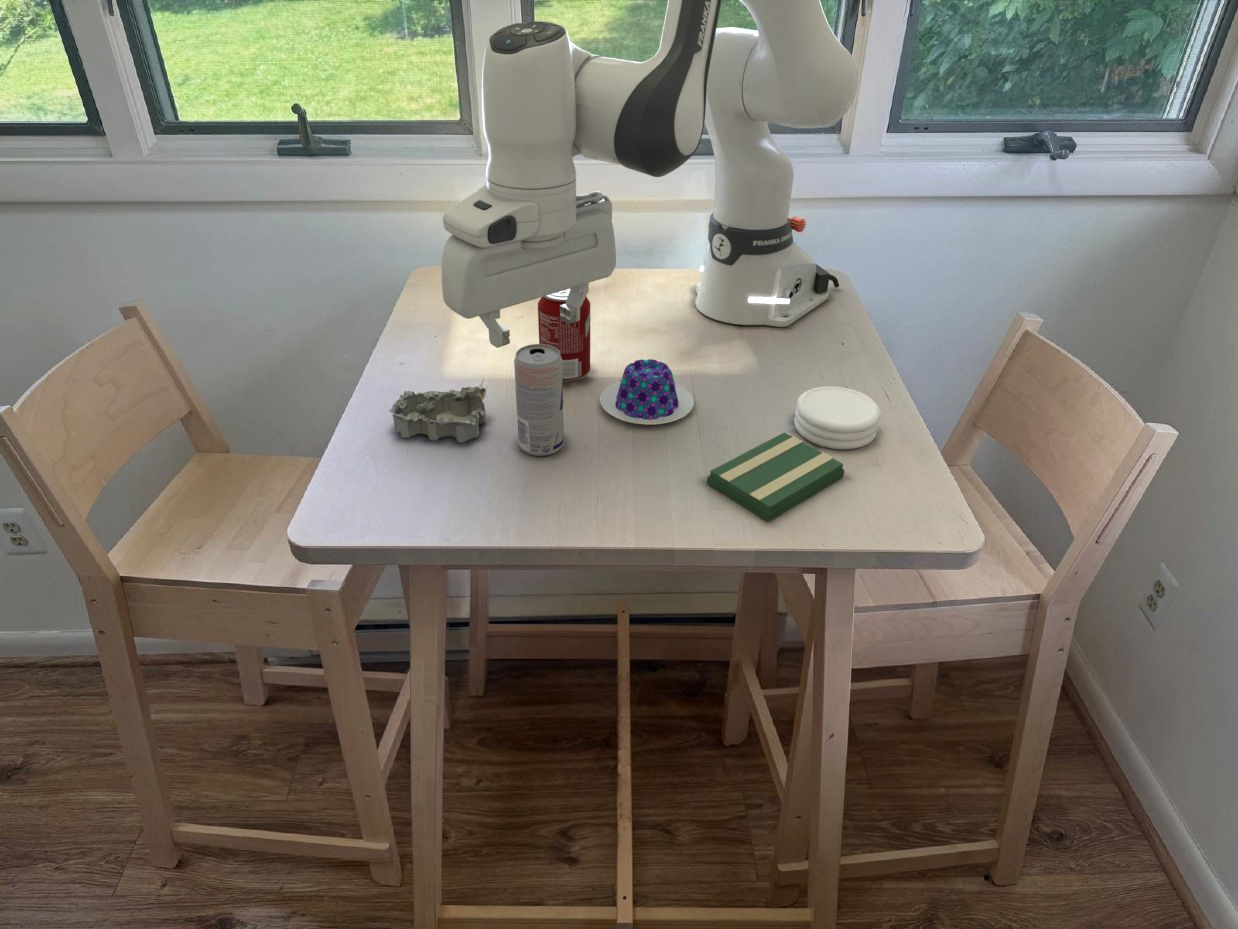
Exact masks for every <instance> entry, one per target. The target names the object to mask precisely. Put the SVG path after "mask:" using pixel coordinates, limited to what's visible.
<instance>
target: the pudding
mask: <svg viewBox="0 0 1238 929" xmlns="http://www.w3.org/2000/svg"><path fill="white" fill-rule="evenodd" d="M599 403H600V406H601V407H602V409H603V410H604V411H605V412H606V413H607V414H609V415H611V416H612V417H614V418H616V419H618V420H621V421H623V422H627V423H631V424H635V425H636V424H638V425H661V424H662V425H663V424H667V423H668V424H669V423H672V422H675V421H678V420H680V419H683V418H684V417H685V416H687V415H688V414H689V413H690V412H691V411H692V410H693V408H694V405H695V399H694V397H693V395H692V393H691V392H690V391H689V390H688V389H687V388H686V387H684V386H683V385H681V384H679V383H677V382H675V379H674V373H673V371H672V369H671V368H670V367H669V365H668V364H667V363H665V362H663V361H658V360H657V359H654V358H648V359H642V358H641V359H636V360H634V362H630V363H629V364H626V367H625V368H624V371H623V373H622V377H621V379H620V380H617V381H615V382H612V383H611V384H609V385H607V386H606V387H605V388H604V389H603V390H602V391H601V392H600V396H599Z"/></svg>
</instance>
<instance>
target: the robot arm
mask: <svg viewBox="0 0 1238 929" xmlns="http://www.w3.org/2000/svg"><path fill="white" fill-rule="evenodd" d="M739 1H740V3H742V4H743V5H744V6H745V7H746V9H747V10H748V12H749V13H750V15H751V17H752V19H753V21H754V23H755V26H756V30H755V29H748V28H741V27H733V26H730V27H719V28H718V23H719V18H720V17H719V16H720V11H721V6H722V2H723V1H722V0H667V4H666V10H665V16H664V20H663V21H664V22H663V27H662V33H661V37H660V42H659V48H658V50H657V52H656V53H655V54H654V55H653V56H652V57H650V58H649V59H647V60H645V61H634V60H629V59H628V60H626V59H622V58H621V59H620V58H614V57H607V56H605V55H598V54H593V53H592V52H590V51H587V50H586V49H585V50H584V49H582V48H581V47H579V46H578V45H577V44H575V43H573V42H572V41H571V40H570V36H569V32H568V30H567V29H566V28H565V27H563V26H562V25H560V24H558V23H554V22H551V21H543V20H532V21H530V20H529V21H526V22H517V23H516V22H515V23H512V24H509V25H506V26H503V27H502V28H500V29H499V28H498V30H496V31H495V32H494V33H493V34H491V35H490V36H489V38H488V40H487V42H486V46H485V50H484V55H483V61H482V71H481V72H482V73H481V115H482V129H483V135H484V137H485V140H486V143H487V148H488V159H487V164H486V168H485V184H484V185H482V186H480V187H479V188H477V190H475V191H474V192H473V193H471V194H470V195H468V196H467V197H465V198H464V199H462V200H460V201H459V202H456V203H455V204H454V205H452V206H450V207H448V208H447V209H445V211H444V213H443V214H442V224H443V228H444V230H445V231H446V232H448V233H449V234H450V236H448V238H447V239H446V241H445V243H444V244H443V248H442V252H441V286H442V287H441V289H442V297H443V302H444V304H445V305H446V306H447V307H448V308H449V309H450V310H451V311H452V312H454V313H455V314H456V315H459V316H460V317H462V318H464V319H467V320H469V319H474V318H477V317H478V318H479V319H480V320H481V322H482V323H483V324H484V325H485V327H486V328H487V330H488V340H489V343H490V344H491V345H492V346H493V347H495V348H497V349H498V348H502V347H504V346H508V345H509V344H511V338H510V337H511V333H510V332H511V331H510V329H509V328H508V327H504V326H503V325H502V324H499V323H498V321H497V320H498V319H501V310H503V309H504V310H505V309H507V308H509V307H513V306H517V305H520V304H524V303H526V302H529V301H533V300H536V299H540V298H541V297H543V296H546V295H550V294H553V293H556V292H560V291H563V290H566V289H570V292H569V295H568V298H567V300H566V304H563V305H560V312H561V314H560V319H561V320H562V321H563V322H566V324H571V323H574V322H577V321H579V320H580V307H581V306H582V304H583V302H584V299H585V297H587V296H588V294H589V290H590V288H589V285H590V283H593V282H596V281H599V280H603V279H606V278H609V277H611V276H612V274H613V273H614V271H615V269H616V266H617V248H616V237H615V230H614V224H613V204H612V201H611V199H610V198H609V196H607V195H606V194H604V193H603V192H602V191H599V190H597V191H595V190H593V191H590V192H588V193H586V194H577V171H576V170H577V169H576V167H575V162H574V159H573V158H574V157H576V156H581V157H584V158H586V159H590V160H594V161H600V162H605V163H610V164H614V165H619V166H622V167H624V168H627V169H629V170H633V171H635V172H638V173H641V174H644V175H647V176H651V177H653V178H662V177H665V176H667V175H668V174H670V173H672V172H674V171H675V170H677V169H678V168H679V167H682V166H683V165H684V164H685V163H687V161H688V160H690V158H692V156H693V155H694V154H695V153H696V152H697V150H698V149H699V146H700V143H701V141H702V137H703V133H704V128H706V130H707V133H708V136H709V139H710V142H711V143H710V144H711V147H712V152H713V158H714V195H713V210H712V211H713V212H712V213H711V214H710V216H709V222H708V225H707V226H708V227H707V228H708V231H707V232H708V233H707V241H709V242H708V243H707V244H706V247H705V252H704V256H703V263H702V265H701V266H700V267H699V272H701V274H700V280H699V281H698V282H696V284H695V293H696V294H697V295H696V298H695V301H694V305H695V307H696V309H697V310H698V311H699V312H700V313H701V314H703V315H704V316H706V317H708V318H709V319H712V320H715V321H717V322H722V323H725V324H732V325H738V326H739V325H740V326H741V325H742V326H769V327H777V328H787V327H789V326H790V325H792V324H793V323H795V322H796V321H798V320H799V319H801V318H802V317H803V316H805V315H807V314H808V313H809V312H811V311H812V310H814V309H816V308H817V307H818V306H820V305H821V304H823V303H824V302H825V301H827V300H828V299H829V290H828V289H829V283H830V281H831V282H832V283H833V288H835V289H836V288H838V287H840V283H839V280H838V278H837V276H835V275H832V274H831V273H830V272H828V271H826V270H825V269H824V268H823V267H821V266H820V265H818V264H817V263H816V261H815V260H814V259H813V257H812V256H810V255H809V254H808V253H807V252H806V251H805V250H804V249H802V247H800V246H799V245H798V244H797V243H796V242H795V241H794V236H793V231H795V232H797V233H802V232H804V229H806V225H807V221H806V219H805V218H801V217H797V215H795V216H792V217H791V218H790V217H789V215H790V214H789V213H790V206H791V200H792V191H793V183H794V176H795V175H794V174H795V173H794V167H793V164H792V161H791V159H790V157H789V156H788V155H787V153H786V152H784V151H783V150H782V149H781V148H780V147H779V146H778V144H777V143H776V142H775V140H774V138H773V136H772V133H771V131H770V128H769V124H774V125H779V126H784V127H789V128H793V129H819V128H820V129H821V128H830V127H832V126H834V125H836V124H837V123H838V122H839V121H840V120H841V119H843V117H844V116H845V115H846V113H848V111H849V110H850V108H851V106H852V104H853V102H854V99H855V97H856V94H857V89H858V71H857V65H856V62H855V59H854V58H853V56H852V53H850V51H849V50H848V49H847V48H846V47H845V46H844V45H843V44H842V42H840V40H839V39H838V37H837V36H836V35H835V33H834V31H833V30H832V28H831V26H830V24H829V22H828V20H827V17H826V14H825V12H824V9H823V6H822V2H821V0H739Z"/></svg>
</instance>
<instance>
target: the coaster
mask: <svg viewBox="0 0 1238 929" xmlns="http://www.w3.org/2000/svg"><path fill="white" fill-rule="evenodd" d="M794 413H795V415H794V418H793V423H794V427H795V430H796V431H797V433H798V434H799V435H800V436H802V437H803V439H805V440H806V441H808V442H810V443H812V444H814V445H817V446H819V447H823V448H827V449H832V450H853V449H860V448H862V447H865V446H867V445H869V444H870V443H872V442H873V441H874V439H875V438H876V436H877V434H878V429H879V425H880V422H879V421H880V420H881V409H880V407H879V405H878V403H876V402H875V400H873V399H872V398H871V397H869V396H868V395H866V394H864V393H863V392H860V391H858V390H855V389H851V388H847V387H842V386H830V385H829V386H819V387H814V388H810V389H809V390H806V391H805V392H803V393H802V394H800V396H799V397H798V399H797V400H796V408H795V412H794Z"/></svg>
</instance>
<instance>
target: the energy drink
mask: <svg viewBox="0 0 1238 929" xmlns="http://www.w3.org/2000/svg"><path fill="white" fill-rule="evenodd" d="M513 365H514V366H513V367H514V385H515V386H514V387H515V404H516V405H515V406H516V421H517V440H518V443H517V444H518V446H519V448H520V449H521V450H522V452H525V453H526V454H528V455H529V456H530V455H531V456H536V457H547V456H551V455H554V454H556V453H557V452H558V451H560V450H561V449H562V448H563V446H564V443H565V433H564V432H565V431H564V430H565V429H564V428H565V427H564V425H565V424H564V423H565V422H564V383H563V368H562V358H561V355H560V351H559V350H558V349H557V348H555V347H553V346H550V345H546V344H539V343H533V344H527V345H524V346H522V347H520V348H518V349H517V351H516V352H515V357H514V360H513Z"/></svg>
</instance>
